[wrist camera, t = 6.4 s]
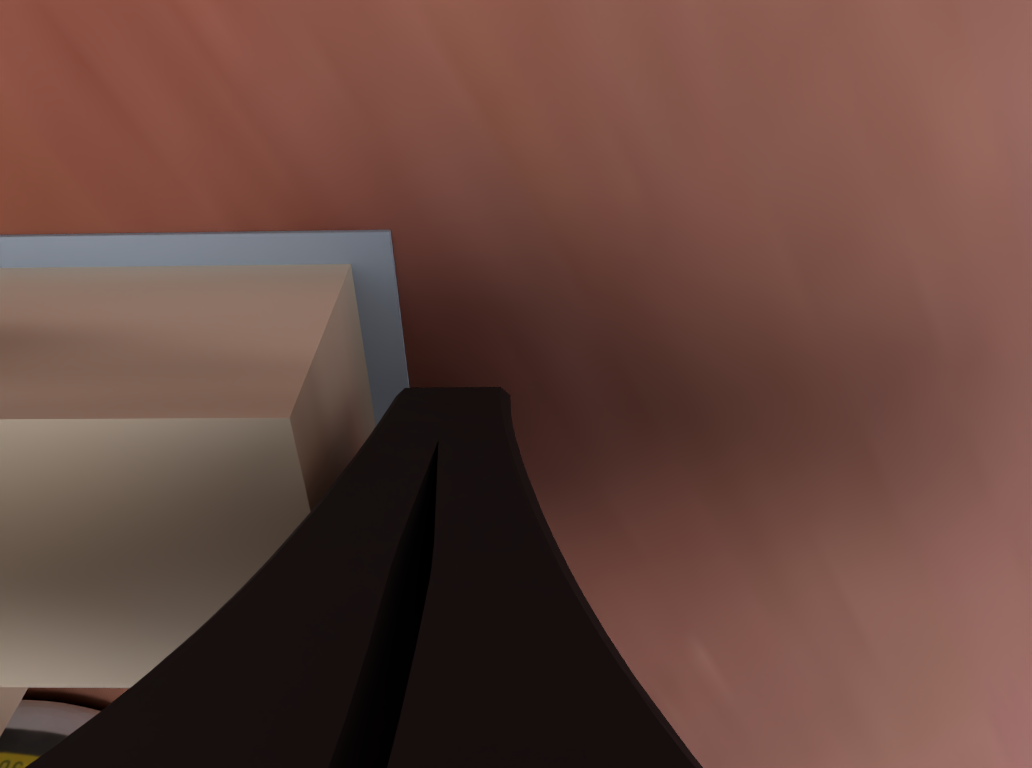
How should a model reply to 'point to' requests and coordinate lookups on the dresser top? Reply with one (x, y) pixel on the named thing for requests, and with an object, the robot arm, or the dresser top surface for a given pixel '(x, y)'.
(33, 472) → the maple t block
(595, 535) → the dresser top surface
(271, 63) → the dresser top surface
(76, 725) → the supplement bottle
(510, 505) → the robot arm
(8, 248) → the slate t outline
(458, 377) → the dresser top surface
